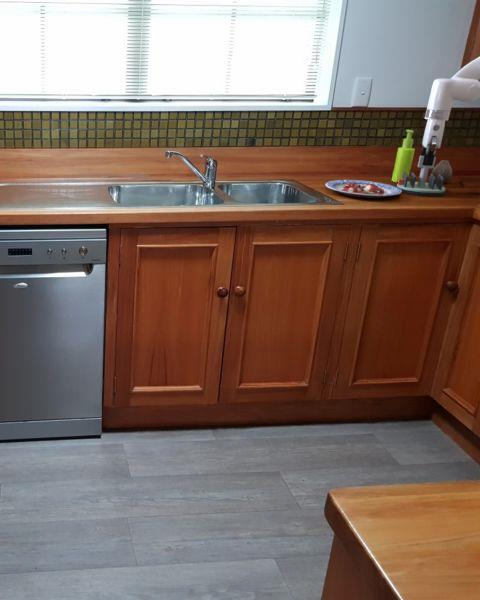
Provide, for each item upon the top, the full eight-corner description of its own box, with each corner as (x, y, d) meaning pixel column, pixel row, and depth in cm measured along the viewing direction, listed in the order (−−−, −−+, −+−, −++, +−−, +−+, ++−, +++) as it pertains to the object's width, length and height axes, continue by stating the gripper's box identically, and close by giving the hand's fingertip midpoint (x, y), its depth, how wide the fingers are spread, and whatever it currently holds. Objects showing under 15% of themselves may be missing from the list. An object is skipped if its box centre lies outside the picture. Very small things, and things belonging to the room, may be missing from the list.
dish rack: (441, 185, 231) (449, 154, 227) (448, 194, 218) (456, 161, 213) (395, 182, 237) (401, 151, 232) (398, 190, 223) (405, 158, 218)
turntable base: (441, 189, 232) (442, 186, 232) (449, 198, 218) (449, 195, 217) (392, 185, 238) (393, 182, 237) (396, 194, 223) (397, 191, 223)
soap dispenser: (406, 180, 247) (417, 129, 239) (408, 183, 241) (420, 131, 233) (390, 179, 249) (400, 128, 241) (392, 182, 243) (403, 131, 235)
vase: (430, 183, 242) (436, 161, 238) (428, 180, 248) (434, 158, 244) (450, 185, 239) (456, 162, 236) (448, 181, 245) (453, 159, 242)
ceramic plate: (324, 183, 239) (325, 175, 238) (396, 188, 231) (397, 181, 230) (325, 197, 217) (326, 189, 216) (404, 204, 209) (406, 195, 208)
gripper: (453, 118, 208) (440, 168, 215) (445, 113, 223) (433, 160, 230) (428, 116, 211) (416, 166, 217) (422, 112, 226) (411, 159, 232)
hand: (425, 163), depth 224 cm, fingers open, 9 cm apart
